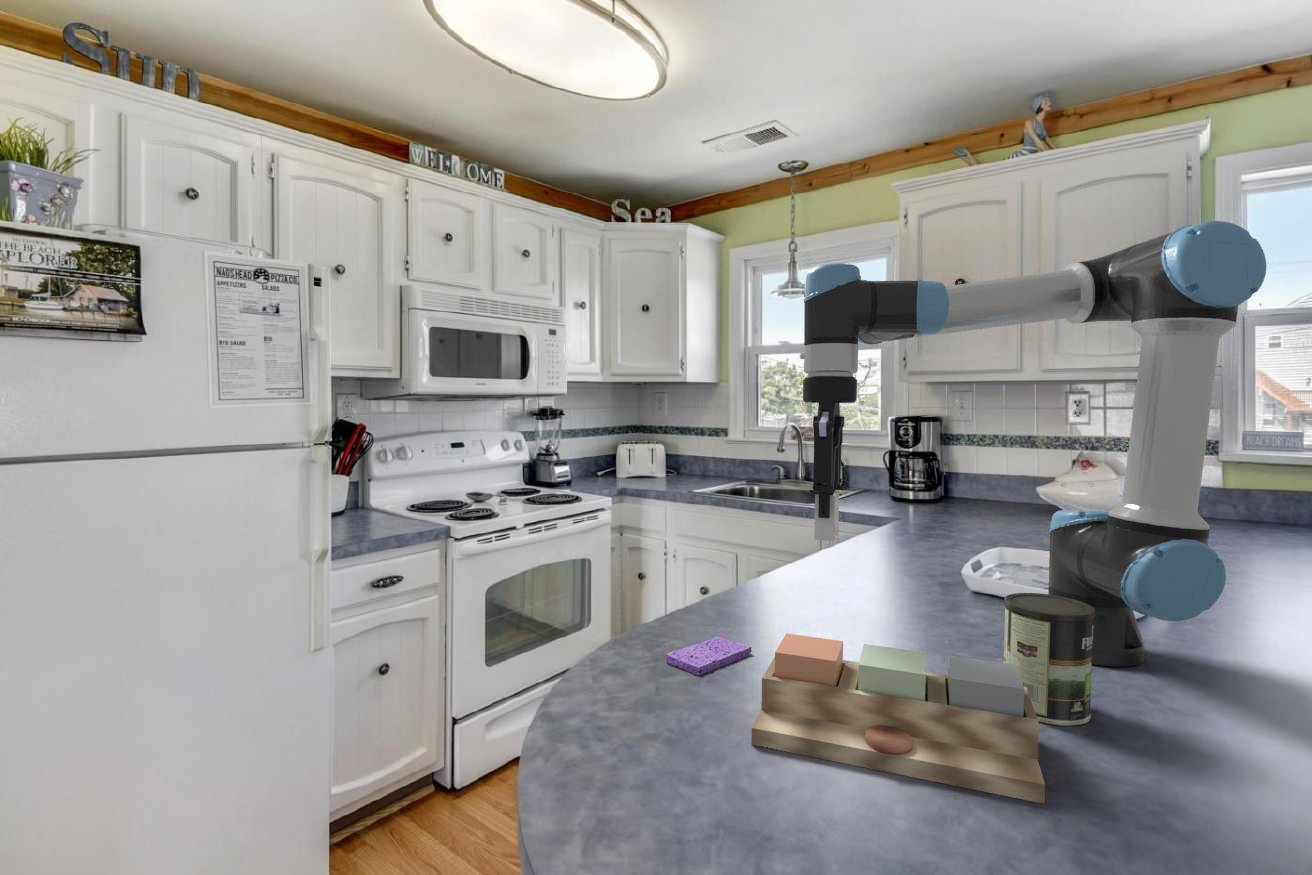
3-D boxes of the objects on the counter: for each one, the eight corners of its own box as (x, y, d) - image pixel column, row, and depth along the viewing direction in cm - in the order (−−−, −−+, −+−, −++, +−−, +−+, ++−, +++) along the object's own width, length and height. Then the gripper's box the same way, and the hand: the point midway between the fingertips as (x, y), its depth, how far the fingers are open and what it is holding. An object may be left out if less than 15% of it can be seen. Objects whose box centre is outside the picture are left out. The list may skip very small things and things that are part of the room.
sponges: (665, 665, 103) (665, 653, 103) (718, 645, 112) (718, 634, 111) (698, 679, 98) (698, 666, 98) (752, 657, 107) (752, 645, 106)
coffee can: (1089, 702, 90) (1094, 599, 89) (1091, 734, 81) (1096, 620, 81) (1004, 685, 95) (1007, 587, 95) (997, 713, 87) (1000, 606, 86)
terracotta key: (842, 678, 87) (843, 641, 87) (835, 701, 81) (836, 661, 80) (785, 669, 90) (786, 633, 90) (774, 691, 83) (775, 652, 83)
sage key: (924, 691, 84) (925, 652, 83) (924, 717, 77) (925, 674, 77) (863, 681, 86) (864, 643, 86) (857, 705, 80) (858, 664, 79)
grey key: (1014, 705, 80) (1016, 664, 80) (1022, 733, 73) (1024, 689, 73) (947, 695, 83) (948, 655, 82) (949, 721, 76) (950, 678, 76)
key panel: (1024, 735, 81) (1026, 686, 81) (1044, 803, 67) (1046, 745, 67) (777, 693, 92) (778, 650, 92) (751, 744, 78) (752, 694, 78)
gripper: (812, 378, 105) (809, 525, 106) (792, 373, 89) (789, 546, 91) (862, 377, 102) (858, 529, 103) (850, 372, 87) (846, 551, 88)
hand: (826, 536), depth 97 cm, fingers open, 4 cm apart
